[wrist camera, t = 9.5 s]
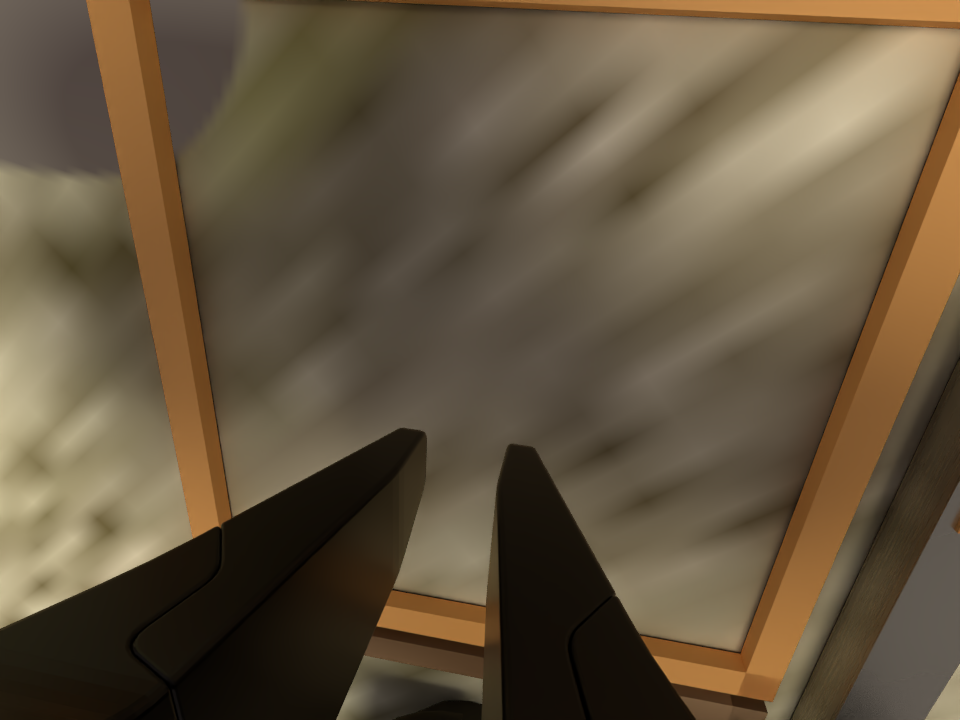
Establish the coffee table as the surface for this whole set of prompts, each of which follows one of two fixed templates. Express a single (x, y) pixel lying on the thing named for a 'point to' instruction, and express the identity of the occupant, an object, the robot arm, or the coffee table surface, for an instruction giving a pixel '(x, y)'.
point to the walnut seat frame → (715, 711)
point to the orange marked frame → (849, 432)
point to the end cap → (448, 712)
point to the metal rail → (902, 595)
